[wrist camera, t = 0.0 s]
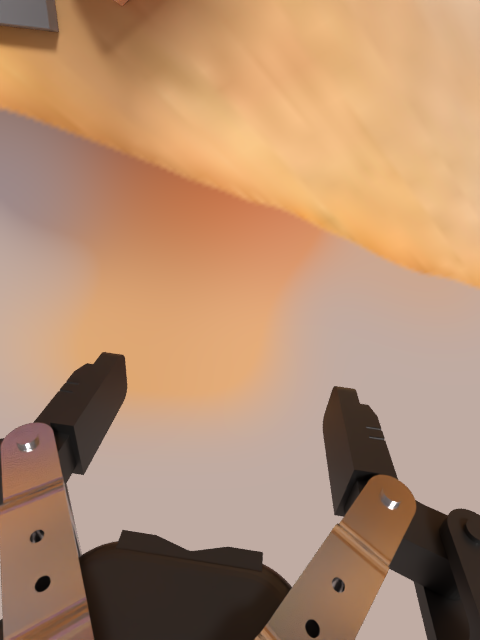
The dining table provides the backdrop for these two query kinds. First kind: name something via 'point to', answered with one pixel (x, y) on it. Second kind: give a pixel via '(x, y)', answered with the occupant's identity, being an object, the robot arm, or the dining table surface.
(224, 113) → the dining table surface
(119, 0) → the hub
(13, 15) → the board
